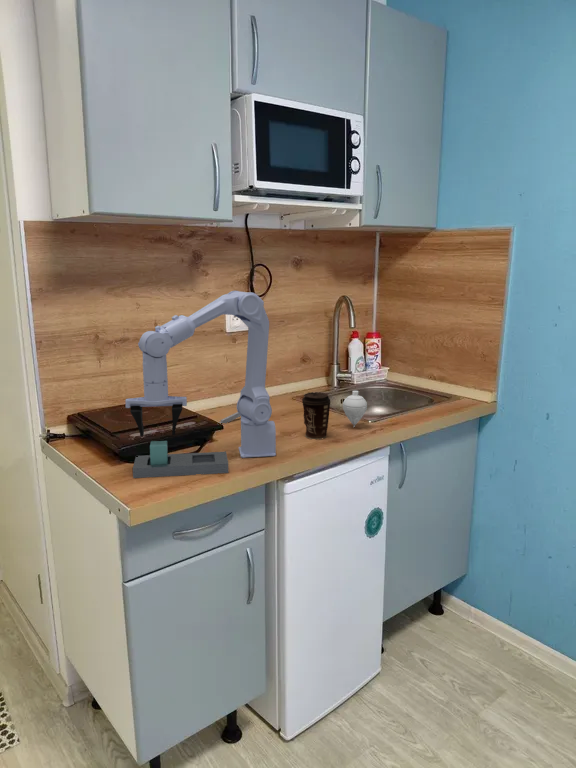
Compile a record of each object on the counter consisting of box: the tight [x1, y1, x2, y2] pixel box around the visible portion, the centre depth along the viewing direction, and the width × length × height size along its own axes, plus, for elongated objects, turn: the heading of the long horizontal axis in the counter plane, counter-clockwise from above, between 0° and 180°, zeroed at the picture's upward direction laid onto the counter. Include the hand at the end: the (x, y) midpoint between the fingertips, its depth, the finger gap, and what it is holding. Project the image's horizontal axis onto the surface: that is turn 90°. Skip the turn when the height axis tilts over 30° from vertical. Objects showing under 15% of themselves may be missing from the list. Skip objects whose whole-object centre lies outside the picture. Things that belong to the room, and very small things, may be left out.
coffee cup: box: [301, 391, 331, 440], centre depth 169 cm, size 9×8×13 cm
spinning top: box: [342, 390, 368, 428], centre depth 178 cm, size 8×8×12 cm
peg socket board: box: [132, 451, 229, 479], centre depth 142 cm, size 23×9×2 cm, turn 100°
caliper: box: [218, 411, 241, 424], centre depth 188 cm, size 20×1×6 cm, turn 136°
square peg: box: [149, 440, 169, 465], centre depth 141 cm, size 4×4×7 cm
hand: (158, 434), depth 140 cm, fingers open, 7 cm apart
